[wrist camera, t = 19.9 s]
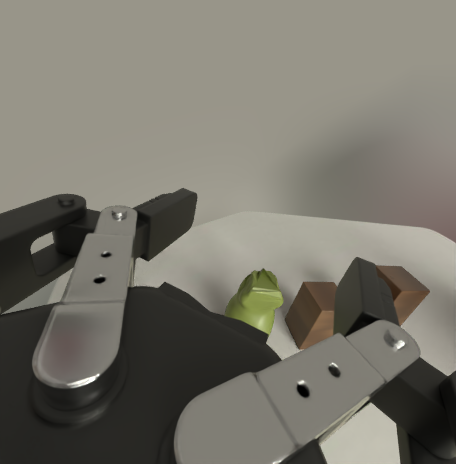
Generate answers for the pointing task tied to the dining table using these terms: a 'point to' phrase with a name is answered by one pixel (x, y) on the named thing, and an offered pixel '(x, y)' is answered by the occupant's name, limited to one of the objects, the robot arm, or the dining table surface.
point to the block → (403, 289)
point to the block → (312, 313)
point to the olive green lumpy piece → (256, 300)
